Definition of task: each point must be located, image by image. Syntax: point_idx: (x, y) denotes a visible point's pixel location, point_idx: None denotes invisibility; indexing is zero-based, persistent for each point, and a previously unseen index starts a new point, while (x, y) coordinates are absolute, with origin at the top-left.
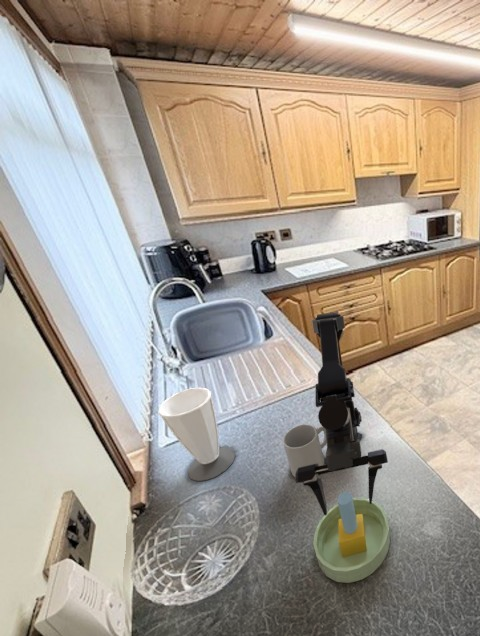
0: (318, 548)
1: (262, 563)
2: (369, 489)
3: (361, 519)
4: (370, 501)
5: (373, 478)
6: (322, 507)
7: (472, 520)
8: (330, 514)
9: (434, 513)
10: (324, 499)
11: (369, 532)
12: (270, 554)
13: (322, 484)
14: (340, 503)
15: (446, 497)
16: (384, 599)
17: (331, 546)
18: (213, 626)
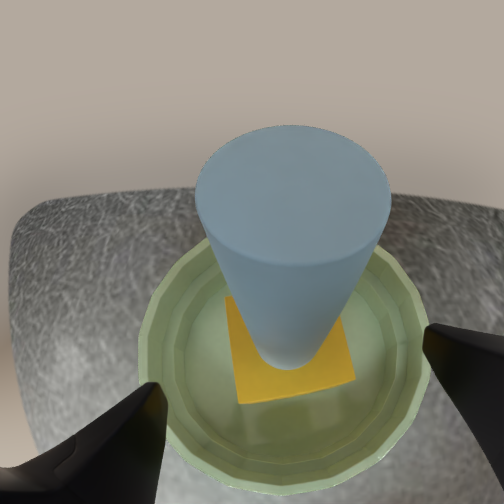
0: (399, 313)
1: (497, 302)
2: (111, 430)
3: (239, 373)
4: (146, 386)
5: (36, 464)
6: (464, 333)
7: (13, 351)
8: (393, 424)
9: (58, 398)
10: (471, 388)
11: (233, 386)
12: (494, 322)
13: (500, 474)
14: (326, 133)
15: (34, 425)
16: (199, 225)
17: (361, 345)
18: (493, 210)
